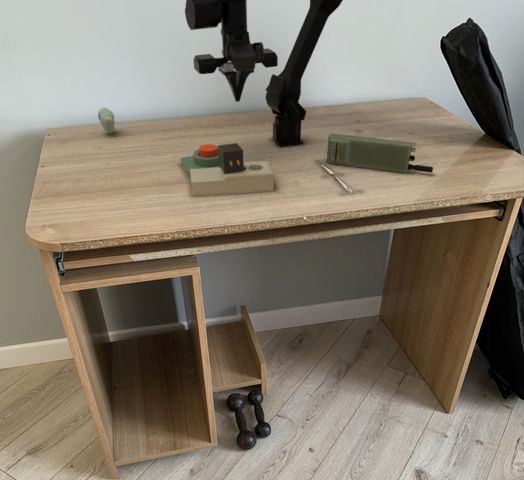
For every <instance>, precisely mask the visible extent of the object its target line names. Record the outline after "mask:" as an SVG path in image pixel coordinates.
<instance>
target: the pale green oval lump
mask: <svg viewBox="0 0 524 480" xmlns="http://www.w3.org/2000/svg"><path fill="white" fill-rule="evenodd" d="M97 117H98V120H99V123H100V126H101V127H102V128H103V130H104V131H105V132H106V133H108V134H111V135H112V134H113V133H114V131H115V126H116V125H115V123H116V122H115V115H114V112H113V111H112V110H110V109H109V108H107V107H101V108H100V109H99V111H98V114H97Z"/></svg>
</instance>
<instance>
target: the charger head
mask: <svg viewBox="0 0 524 480" xmlns="http://www.w3.org/2000/svg"><path fill="white" fill-rule="evenodd" d="M217 147H218V158H219V167H220V168H221V170H222V171H223V172H224V174H227V173H234V172H241V171H244V163H243V162H244V149H243V148H242V147H241V146H240V144H239V143H237V142H233V143H227V144H221V145H217Z"/></svg>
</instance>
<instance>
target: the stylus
mask: <svg viewBox="0 0 524 480" xmlns="http://www.w3.org/2000/svg"><path fill="white" fill-rule="evenodd" d="M321 166H322V167H323V168H324V169H325V170H326V171H327V172H328V173H329V174H330V175H333V176H334V177H335V178H336V180H337V181H338V182H339V183H340V185H341V186H342V187H343V188H344V189H345V191H346V192H347V193H348V194H349V193H351V194H353V189H351V188H350V187H349V186H347V185H346V184H345V183H344V182H343V181H341V179H340V178H338V176H336V175H335V173H334V172H333V170H331V169H329V168H327V167H326V166H325V165H323V164H321Z"/></svg>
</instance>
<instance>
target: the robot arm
mask: <svg viewBox="0 0 524 480" xmlns="http://www.w3.org/2000/svg"><path fill="white" fill-rule="evenodd" d="M247 1H248V0H186V2H185V8H184V16H185V21H186V23H187V26H188V28H189V30H191V31H196V30H205V29H214V28H215V29H216V28H218V26H219V24H221V25H220V26H221V29H220V35H221V40H222V41H221V42H222V43H221V44H222V49H221V55H222V57H214V56H213V55H212V54H211V53H205V54H196V55H195V56H194V57H193V69H194V70H195V71H196V72H197V73H198V74H199V75H209V74H214V73H215V72H216V70H218V72H219V73H220V74H222V75H223V76H224V77H225V78H226V81H227V83H228V85H229V88H230V90H231V93H232V96H233V98H234V101H235V102H236V103H238V102H240V101H241V98H242V95H243V91H244V88H245V84H246V82H247V79H248V77H249V76H250V75H251V74H254V73H255V69H256V65H257V64H262V66H263V67H264V68H266V69H267V68H274V67H275V68H276V67H278V65H279V63H278V62H279V60H278V59H279V58H278V55H277V53H276V52H275V51H273V50H272V49H271V48H265V47H264V43H263V42H262V41H259V42H257V41H256V42H254V43H251V39H250V32H249V31H248V5H247V4H248V3H247ZM343 1H344V0H309V8H308V11H307V13H306V16H305V18H304V20H303V23H302V25H301V28H300V30H299V32H298V35H297V37H296V39H295V42H294V44H293V47H292V49H291V52H290V54H289V56H288V58H287V61H286V63H285V66H284V67H283V70H282V71H281V72H280V73H279V74H277V75H276V74H274V73H273V74H271V76H270V79H269V82H268V85H267V86H266V88H265V92H266V93H265V100H266V101H265V102H266V104H267V107H269V108H270V110H271V112H272V114H273V115H275V116H274V122H273V123H272V140H273V141H274V142H275V144H277V145H278V146H279V147H286V146H295V145H301V144H304V140H303V139H302V138H301V135H302V121H304V120H305V118H306V115H307V110H306V109H305V108H304V107H303V106H302V105H301V104H300V102H299V101H300V98H301V95H302V78H303V76H304V74H305V72H306V70H307V67H308V65H309V63H310V61H311V58H312V56H313V54H314V51H315V49H316V46H317V44H318V43H319V40H320V37H321V35H322V33H323V31H324V28H325V26H326V23H327V21H328V20H329V17H330V16H331V15H332V14H333V13H335V11H336V10H337V9H338V8H339V7H340V6H341V5H342V2H343Z"/></svg>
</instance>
